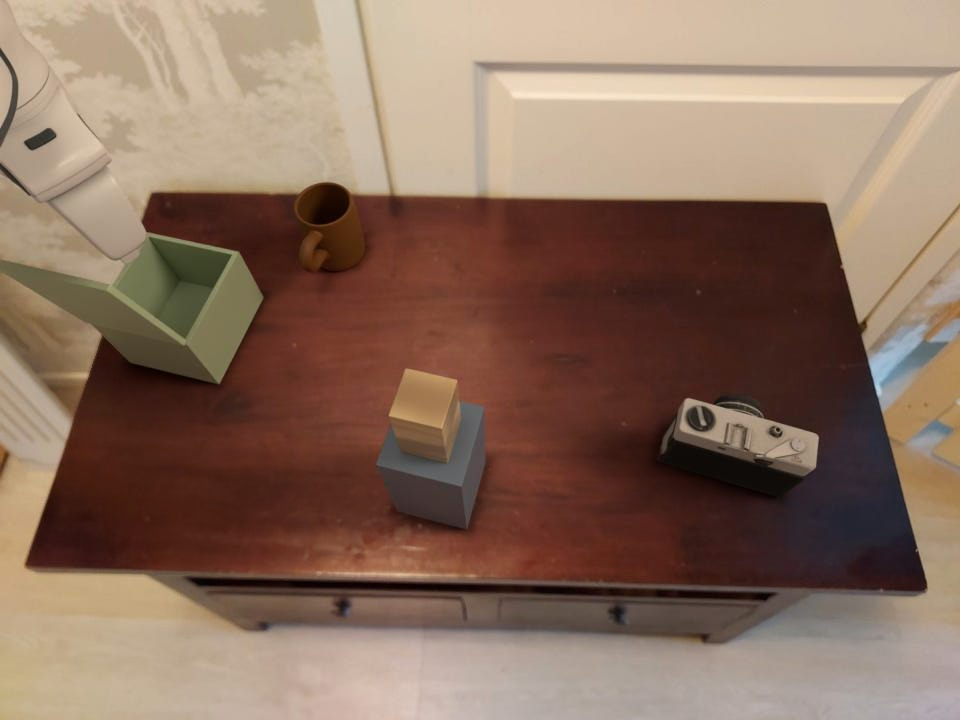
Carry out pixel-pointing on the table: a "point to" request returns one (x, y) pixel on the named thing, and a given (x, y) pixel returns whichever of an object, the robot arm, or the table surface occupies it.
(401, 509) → the block
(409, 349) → the table surface
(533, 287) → the table surface
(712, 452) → the camera
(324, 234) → the mug
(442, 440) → the block
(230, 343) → the box
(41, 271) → the box lid
